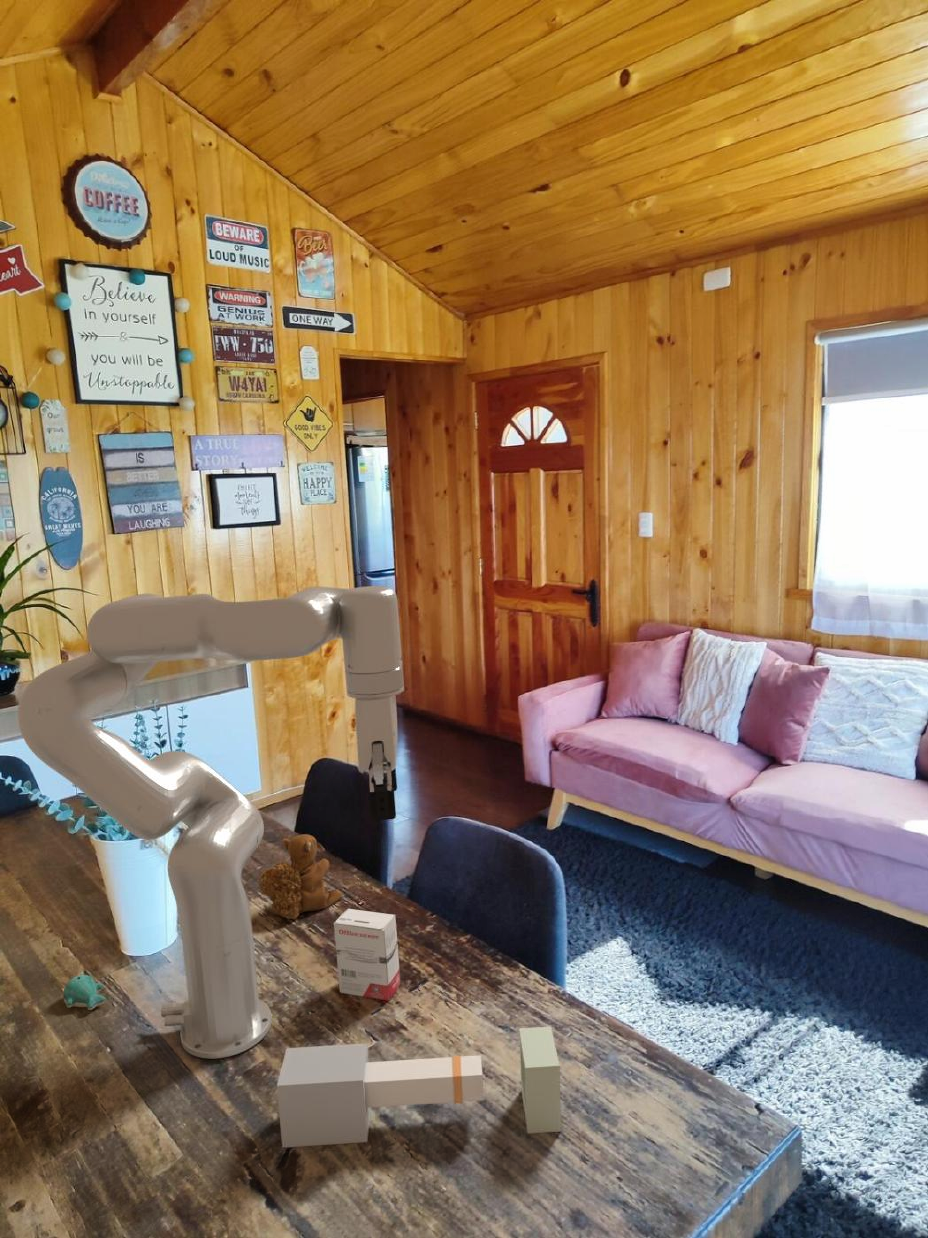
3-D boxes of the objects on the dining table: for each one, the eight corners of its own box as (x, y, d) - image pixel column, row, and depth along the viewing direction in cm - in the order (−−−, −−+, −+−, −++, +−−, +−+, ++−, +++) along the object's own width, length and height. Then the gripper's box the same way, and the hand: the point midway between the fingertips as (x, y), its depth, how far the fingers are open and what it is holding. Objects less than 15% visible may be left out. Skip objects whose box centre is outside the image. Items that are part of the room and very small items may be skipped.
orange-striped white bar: (282, 1114, 98) (280, 1087, 97) (287, 1092, 101) (285, 1066, 101) (483, 1101, 98) (482, 1075, 98) (481, 1080, 102) (480, 1054, 101)
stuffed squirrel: (346, 897, 155) (341, 831, 153) (292, 933, 144) (286, 862, 141) (307, 885, 161) (302, 821, 158) (252, 918, 149) (246, 850, 147)
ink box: (402, 983, 128) (397, 913, 126) (389, 1002, 123) (384, 930, 121) (352, 974, 130) (347, 906, 129) (337, 993, 126) (332, 922, 124)
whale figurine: (92, 985, 131) (89, 963, 130) (116, 1002, 126) (113, 979, 126) (55, 1004, 126) (52, 982, 126) (79, 1022, 122) (76, 999, 121)
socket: (527, 1133, 97) (525, 1068, 96) (521, 1090, 104) (519, 1028, 103) (561, 1131, 97) (559, 1065, 96) (552, 1088, 104) (551, 1026, 103)
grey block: (282, 1147, 97) (276, 1086, 95) (291, 1107, 103) (286, 1048, 102) (367, 1142, 97) (362, 1080, 96) (371, 1102, 103) (367, 1043, 102)
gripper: (350, 668, 116) (360, 783, 119) (340, 700, 99) (352, 833, 102) (403, 664, 117) (412, 779, 119) (402, 695, 99) (412, 828, 102)
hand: (384, 804), depth 111 cm, fingers open, 9 cm apart
